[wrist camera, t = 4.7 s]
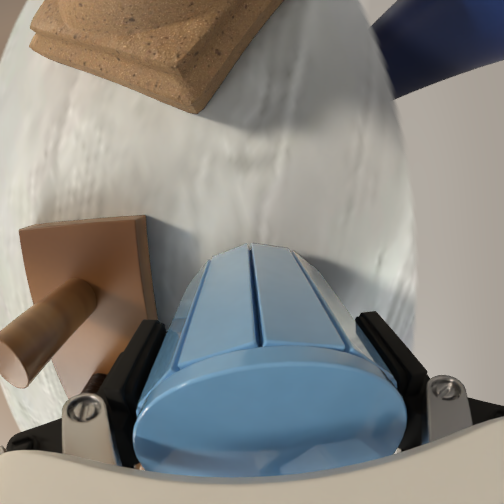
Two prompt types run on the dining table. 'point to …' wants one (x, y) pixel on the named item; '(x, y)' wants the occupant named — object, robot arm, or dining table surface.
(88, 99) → the dining table surface
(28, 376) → the rack
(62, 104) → the dining table surface
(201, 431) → the cup
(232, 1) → the candle holder
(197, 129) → the dining table surface
